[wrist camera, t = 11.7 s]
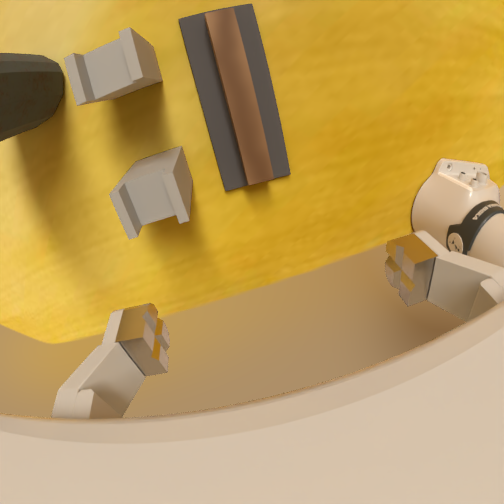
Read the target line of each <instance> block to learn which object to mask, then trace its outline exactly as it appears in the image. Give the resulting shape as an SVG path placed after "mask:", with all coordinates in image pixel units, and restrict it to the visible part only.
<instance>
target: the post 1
mask: <svg viewBox="0 0 504 504" xmlns="http://www.w3.org/2000/svg"><path fill="white" fill-rule="evenodd" d="M119 35H120V39H117V40H115V41H112V42H110V43H108V44H106V45H103V46H101V47H99V48H97V49H95V50H93V51H91V52H89V53H87V54H85V55H80V54H75V53H73V54H71V55H69V56H67V57H66V58H64V60H65V64H66V68H67V72H68V76H69V79H70V83H71V87H72V90H73V94H74V97H75V101H76V104H77V106H79V105H84V104H89V103H94V102H99V101H105V100H111V99H116V98H118V97H121V96H123V95H126V94H128V93H131V92H133V91H136V90H139V89H141V88H144V87H147V86H149V85H152V84H155V83H158V82H161V81H163V80H162V77H161V73H160V69H159V66H158V62H157V58H156V55H155V51H154V47H153V46H152V45H151V44H150V43H149V42H148V41H146V40H145V39H144V38H143V37H141V36H140V35H139V34H138V33H136V32H135V31H134V30H133V29H131V28H130V27H129V28H127V29H124V30H122V31H119Z"/></svg>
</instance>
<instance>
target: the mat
mask: <svg viewBox="0 0 504 504" xmlns="http://www.w3.org/2000/svg"><path fill="white" fill-rule="evenodd" d="M228 8H234V12H235V15H236V19H237V23H238V27H239V30H240V34H241V38H242V42H243V46H244V50H245V54H246V58H247V62H248V66H249V70H250V74H251V78H252V82H253V86H254V90H255V95H256V99H257V103H258V107H259V112H260V116H261V121H262V125H263V129H264V134H265V139H266V143H267V148H268V152H269V157H270V162H271V166H272V171H273V176H274V178H278V177H282V176H286V175H290V168H289V163H288V158H287V152H286V147H285V142H284V137H283V132H282V127H281V122H280V118H279V113H278V108H277V104H276V99H275V94H274V90H273V86H272V81H271V77H270V73H269V68H268V64H267V60H266V56H265V52H264V48H263V44H262V40H261V36H260V32H259V28H258V24H257V21H256V17H255V13H254V9H253V6H252V4H246V5H239V6H234V7H228ZM228 8H223V9H228ZM223 9H218V10H223ZM218 10H213V11H218ZM213 11H209V12H213ZM209 12H204V13H200V14H196V15H192V16H188V17H184V18H181V19H179V23H180V27H181V30H182V34H183V38H184V42H185V45H186V49H187V53H188V57H189V60H190V64H191V68H192V71H193V75H194V79H195V82H196V86H197V90H198V93H199V97H200V101H201V104H202V108H203V112H204V115H205V119H206V123H207V126H208V130H209V133H210V137H211V141H212V144H213V148H214V151H215V155H216V159H217V162H218V166H219V169H220V173H221V176H222V180H223V184H224V187H225V191H228V190H232V189H235V188H239V187H243V186H246V185H249V184H248V182H247V180H246V178H245V174H244V170H243V166H242V162H241V158H240V154H239V150H238V146H237V142H236V138H235V134H234V130H233V126H232V122H231V118H230V114H229V110H228V106H227V102H226V99H225V95H224V91H223V87H222V83H221V79H220V75H219V72H218V68H217V64H216V60H215V56H214V52H213V49H212V45H211V41H210V37H209V34H208V30H207V26H206V22H205V13H209Z"/></svg>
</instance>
